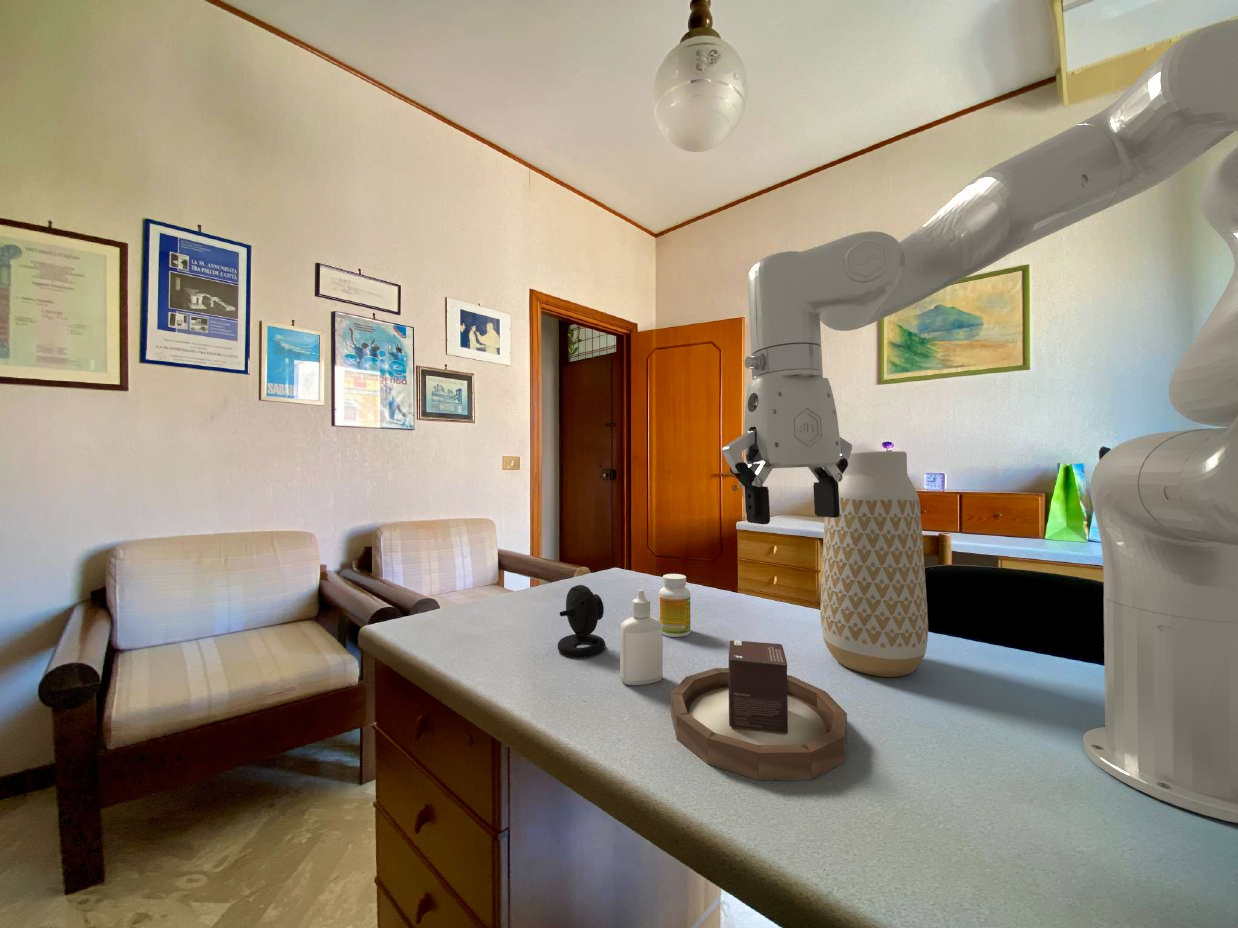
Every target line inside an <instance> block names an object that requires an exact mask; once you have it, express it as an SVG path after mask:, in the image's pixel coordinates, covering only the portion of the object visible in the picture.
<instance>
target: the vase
mask: <svg viewBox="0 0 1238 928" xmlns="http://www.w3.org/2000/svg"><path fill="white" fill-rule="evenodd" d="M907 458H908V456H907V452H906V451H902V450H901V451H899V450H895V451H894V450H892V451H891V450H890V451H889V450H888V451H886V450H883V451H881V450H880V451H879V450H877V451H876V450H875V451H873V450H872V451H851V454H850V457H849V460H847V461H848V466H847V468H846V470H845V471H844V473H843V474H842V475H843V479H842V481H841V482H838V488H839V507H840V516H839V517H836V518H832V517H824V521H823V522H824V523H823V541H822V542H823V543H822V544H823V545H822V546H823V547H822V563H821V565H822V566H821V581H820V582H821V583H820V587H821V588H820V603H819V605H820V607H819V608H820V613H819V614H820V616H819V617H820V626H821V634H822V638H823V641H824V644H825V646H826V648H827V650H828V652H829V653H830V654H831V656H832V657H833V658H834V660H836V662H838V663H839V664H840V665H842V666H844V667H845V668H848V669H850V670H852V671H855V672H857V673H861V674H864V675H869V676H873V677H874V676H875V677H883V678H897V677H903V676H906V675H910V674H911V673H912V672H914V671H915V670H916V669H917V668H918V667H919V665H920V664H921V663H922V661H923V660H924V657H925V656H926V651H927V647H928V640H929V639H928V638H929V619H928V618H929V617H928V601H927V585H926V573H925V572H926V571H925V569H926V568H925V558H924V557H925V555H924V540H923V527H922V515H921V505H920V503H921V502H920V498H919V495H918V492H917V490H916V488H915V486H914V484H913V483H912V481H911V478H910V477H909V474H908V459H907Z"/></svg>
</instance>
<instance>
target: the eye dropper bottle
mask: <svg viewBox="0 0 1238 928" xmlns="http://www.w3.org/2000/svg"><path fill="white" fill-rule="evenodd" d="M631 610H632V611H631V613H632V616H631V617H630V616H629V618H627V619H624V620H623V621H622V622H621V624H620V629H619V631H620V632H619V633H620V634H619V669H620V670H619V671H620V672H619V675H620V676H619V677H620V679H621V681H622V682H623V683H624V684H625V685H627V686H644V685H651V684H654V683H657V682H660V681H661V680H662V679H663V675H664V673H663V671H664V669H663V668H664V667H663V666H664V663H663V661H664V659H663V657H664V656H663V654H664V653H663V634H662V624H661V622H660V621H659V618H656V617H653V616H651V600H650V599H648V598H647V597H646V595H645V591H644V589H638V591H637V597H636V598H634V599H632V600H631Z"/></svg>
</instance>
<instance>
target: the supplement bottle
mask: <svg viewBox="0 0 1238 928" xmlns="http://www.w3.org/2000/svg"><path fill="white" fill-rule="evenodd" d="M662 584H663V587H661V589H660V590H659V593H658V607H659V609H658V620H659V621H660V622H661V624H662V636H665V637H670V638H682V637H686V636H689V635H690V633H691V591H690V589H688V588H687V587H686V586H687V576H686V575H685V574H679V573H667V574H663V576H662Z"/></svg>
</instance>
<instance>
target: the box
mask: <svg viewBox="0 0 1238 928" xmlns="http://www.w3.org/2000/svg"><path fill="white" fill-rule="evenodd" d="M728 668H729V726H730V727H734V728H741V729H750V730H758V731H766V732H774V733H781V734H787V733H788V703H787V675H788V662H787V658H786V655H785V650H784V647H783V644H782V643H772V642H760V641H759V642H758V641H749V640H729V641H728Z"/></svg>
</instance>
